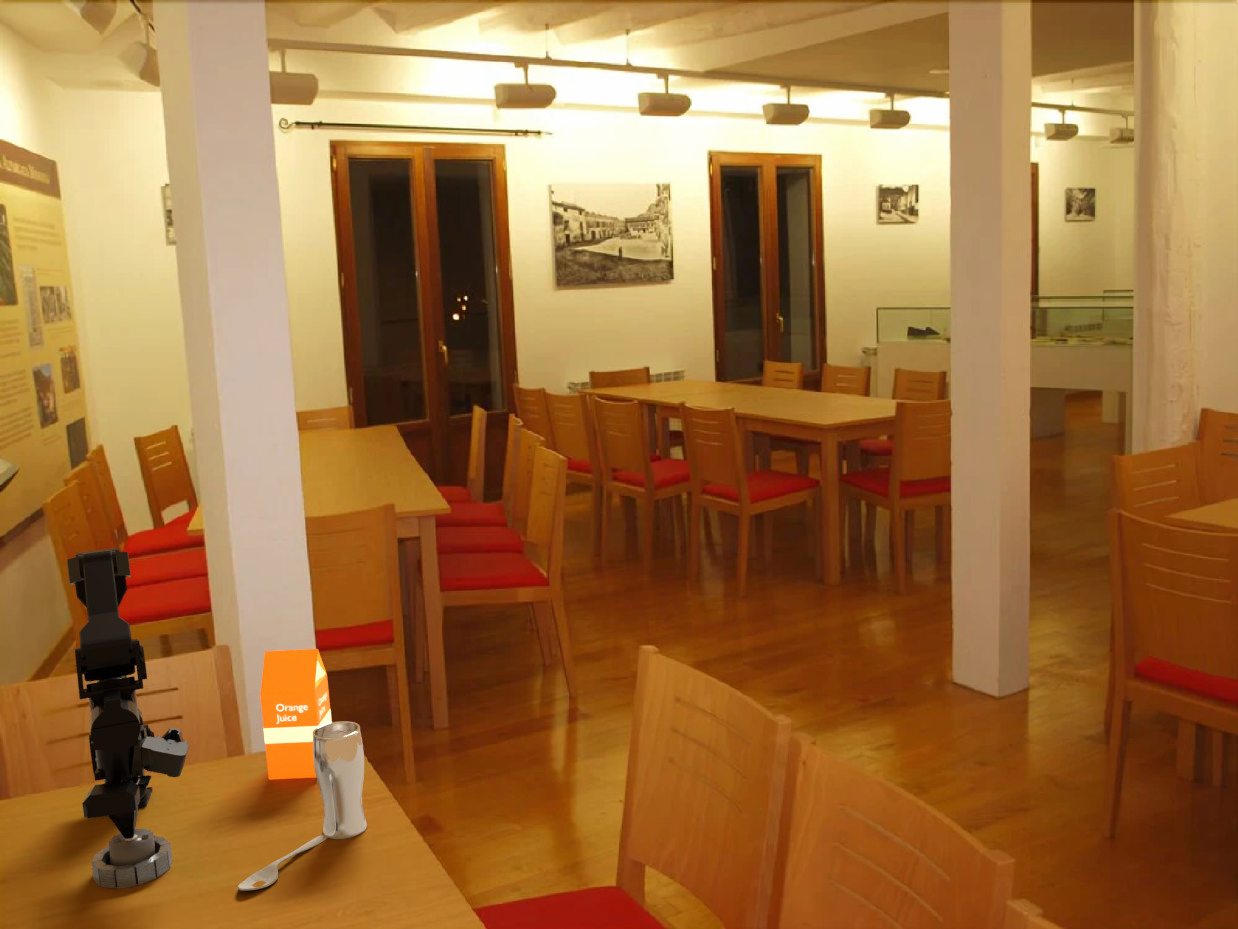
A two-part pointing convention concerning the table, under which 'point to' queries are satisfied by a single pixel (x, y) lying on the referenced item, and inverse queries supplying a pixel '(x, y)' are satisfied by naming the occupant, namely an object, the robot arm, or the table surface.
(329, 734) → the beer glass
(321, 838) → the spoon
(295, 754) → the orange juice
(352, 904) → the table surface
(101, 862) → the segmented ring
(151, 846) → the cap
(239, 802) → the table surface
